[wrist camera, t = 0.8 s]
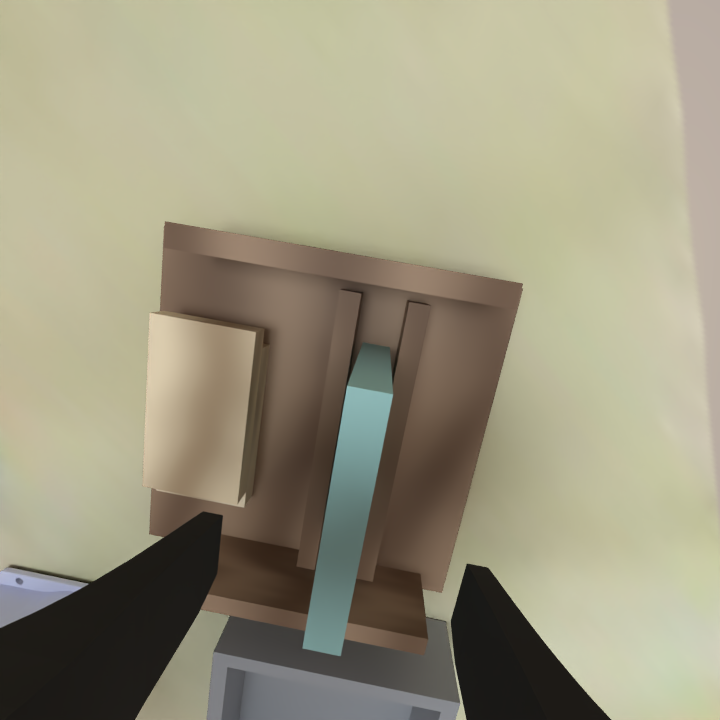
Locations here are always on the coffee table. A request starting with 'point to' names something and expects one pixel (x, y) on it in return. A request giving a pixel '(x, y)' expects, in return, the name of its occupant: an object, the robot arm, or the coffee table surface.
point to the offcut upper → (200, 405)
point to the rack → (324, 413)
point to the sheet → (349, 498)
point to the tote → (328, 678)
